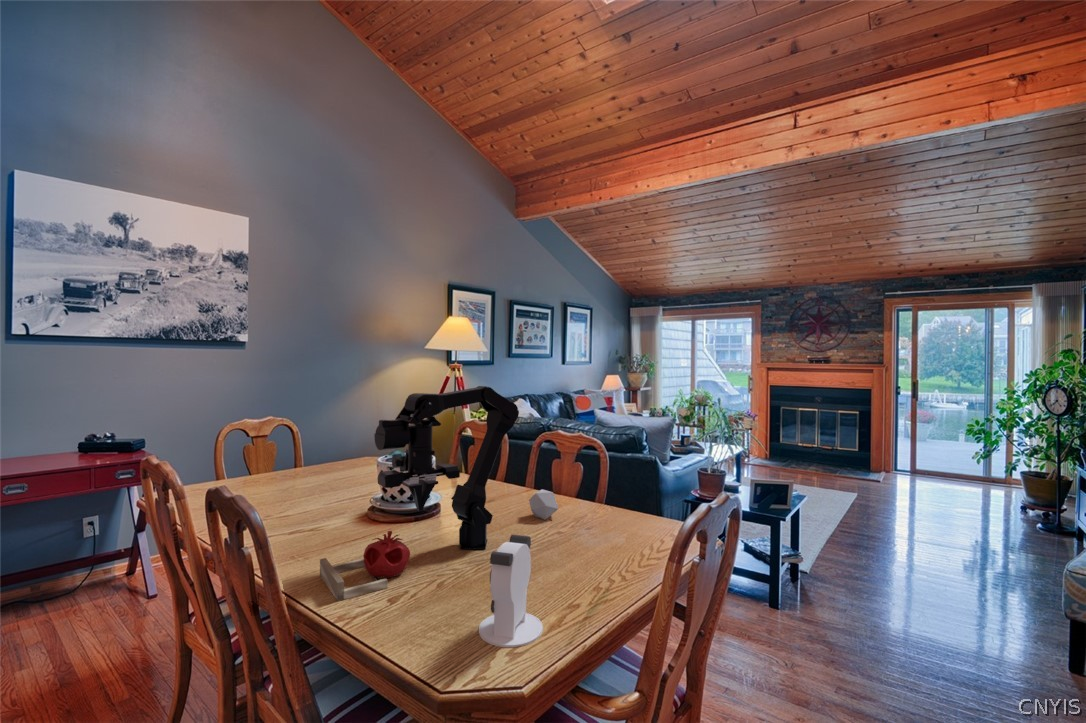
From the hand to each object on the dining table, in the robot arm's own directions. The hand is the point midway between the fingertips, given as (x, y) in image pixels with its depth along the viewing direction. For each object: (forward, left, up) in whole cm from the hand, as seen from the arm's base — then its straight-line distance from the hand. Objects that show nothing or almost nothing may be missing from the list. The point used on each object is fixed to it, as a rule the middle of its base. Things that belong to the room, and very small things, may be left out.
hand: (419, 510), depth 118 cm
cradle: (+12, +11, -12) cm, 20 cm away
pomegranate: (+6, +7, -12) cm, 15 cm away
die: (-31, -34, -12) cm, 48 cm away
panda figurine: (-23, +31, -12) cm, 40 cm away
